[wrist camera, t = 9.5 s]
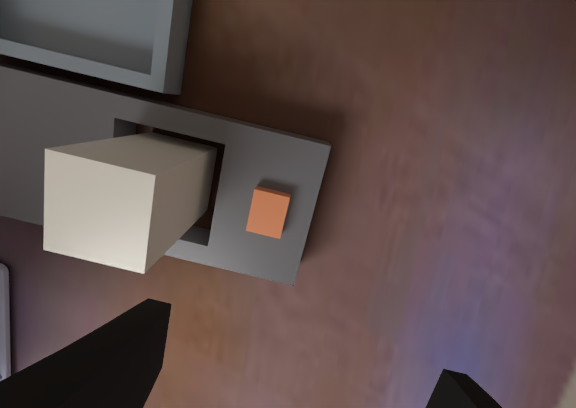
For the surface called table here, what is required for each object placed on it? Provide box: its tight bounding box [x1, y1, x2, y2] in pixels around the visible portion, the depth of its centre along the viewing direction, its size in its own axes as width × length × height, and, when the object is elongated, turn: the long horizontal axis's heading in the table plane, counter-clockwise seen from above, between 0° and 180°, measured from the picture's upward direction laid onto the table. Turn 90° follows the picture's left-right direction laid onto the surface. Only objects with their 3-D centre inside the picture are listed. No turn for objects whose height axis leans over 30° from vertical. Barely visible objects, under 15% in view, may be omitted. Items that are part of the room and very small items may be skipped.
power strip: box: [0, 62, 331, 286], centre depth 16 cm, size 7×25×3 cm, turn 77°
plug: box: [43, 132, 218, 274], centre depth 14 cm, size 3×3×7 cm
